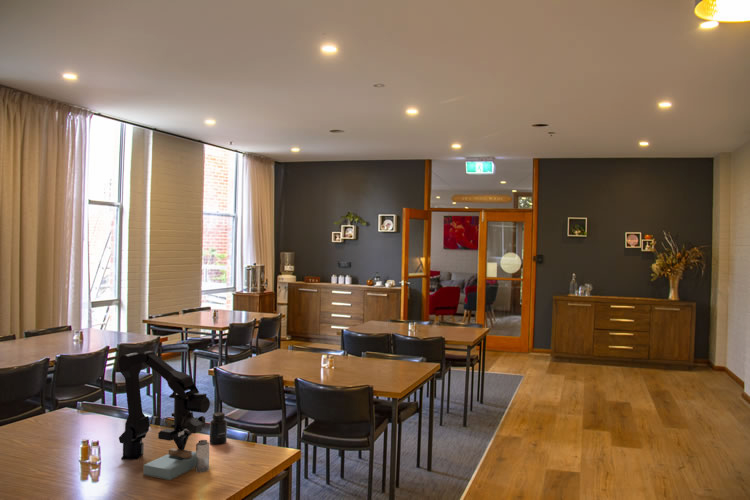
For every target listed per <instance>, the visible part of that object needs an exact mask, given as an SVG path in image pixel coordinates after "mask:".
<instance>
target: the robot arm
mask: <svg viewBox="0 0 750 500" xmlns="http://www.w3.org/2000/svg"><path fill="white" fill-rule="evenodd" d="M117 364H118V369H119V372H120V373H121V375H122V376H123V378H124V382H125V391H126V400H127V402H126V403H127V413H128V415H127V419H126V421H125V424H124V431H123V433H121V435H119V437H118V441H119V443H120V444H122V456H121V458H120V459H121V460H137V459H141V457H142V456H143V454H144V450H145V449H144V445H145V444H144V442H143V439H146V436H147V433H148V432H149V431H150V427H151V424H150V416H149V415H147V416H146V415H145V414H144V413H143V407H142V395H141V387H140V386H141V385H140V373H141V371H142V369H143V364H145V365H146V366H148V367H149V368H150V369H152V371H154V372H155V373H156V374H158V375H159V376H160V377H162V378H163V379H164V380H165V381H166V383H167V385H168V386H167V387H168V388H170V389H171V391H172V393H171V394H170V395H169V396H168V398H170V399H173V412H171V417H173V423H172V424H171V426H170V428H168V427H167V428H164V429H161V430H160V431H159V432H158V433H157V434H158V437H157V438H158V439H159V440H163V441H174V443H175V445H176V448H177V449H181V450H185V448H186V445H187V442H188V440H189V437H190V436H191V435H192V434H197V433H198V432H201V431H202V429H203V428H204V427H205V426H206V416H204V415H201V416H199V417H197V416H196V417H194V412H195V413H201V414H205V413H207V412H208V411H209V409H210V406H211V401H210V399H209V397H207V393H200V391H199V389H198V388H197V385H196V384H195V382H194V379H193V377H192V376H190V375H189V374H187V373H186V372H182V371H179V370H176V369H175V368H173V366H171V365H170V364H169V363H167V362H166V361H164V360H163V359H162V358H161V357H160V356H158V355H157V354H156V353H155V351H152V350H148V351H144V352H141V353H138V352H131V353H128V354H123V355H121V356H120V357H119V358H118V361H117Z"/></svg>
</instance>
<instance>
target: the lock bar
mask: <svg viewBox="0 0 750 500" xmlns="http://www.w3.org/2000/svg"><path fill="white" fill-rule="evenodd" d="M187 450H188V449H184V450H181V449H178V448H177V447H172V448H169V449H168V454H169V455H171V456H177V457H182V458H187V459H188V458H190V457H192V451H193V450H188V451H187Z"/></svg>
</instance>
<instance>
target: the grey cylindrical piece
mask: <svg viewBox="0 0 750 500" xmlns="http://www.w3.org/2000/svg"><path fill="white" fill-rule="evenodd" d="M195 452H196V467H195V472H197V473H199V474H200V473H201V474H202V473H207V472H208V471H210V441H209V442H208V440H207V439H199V440H198V442H196V444H195Z"/></svg>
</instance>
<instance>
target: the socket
mask: <svg viewBox="0 0 750 500" xmlns="http://www.w3.org/2000/svg"><path fill="white" fill-rule="evenodd" d="M186 450H187V451H189V450H188V449H186ZM191 451H192V457H190V458H188V459H187V458H182V457H177V456H171V455H169V453H167V454H165V455H163V456H161V457H160V456H159V457H158V458H156V459H154V460H152V461H149V462H148V463H145V464H143V476H148V477H152V478H158V479H163V480H166V481H172V480H174V479H175V478H178V477H179V476H182V475H183V474H185V473H187V472H190V471H191V470H193V469H196V451H193V450H191Z"/></svg>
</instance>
